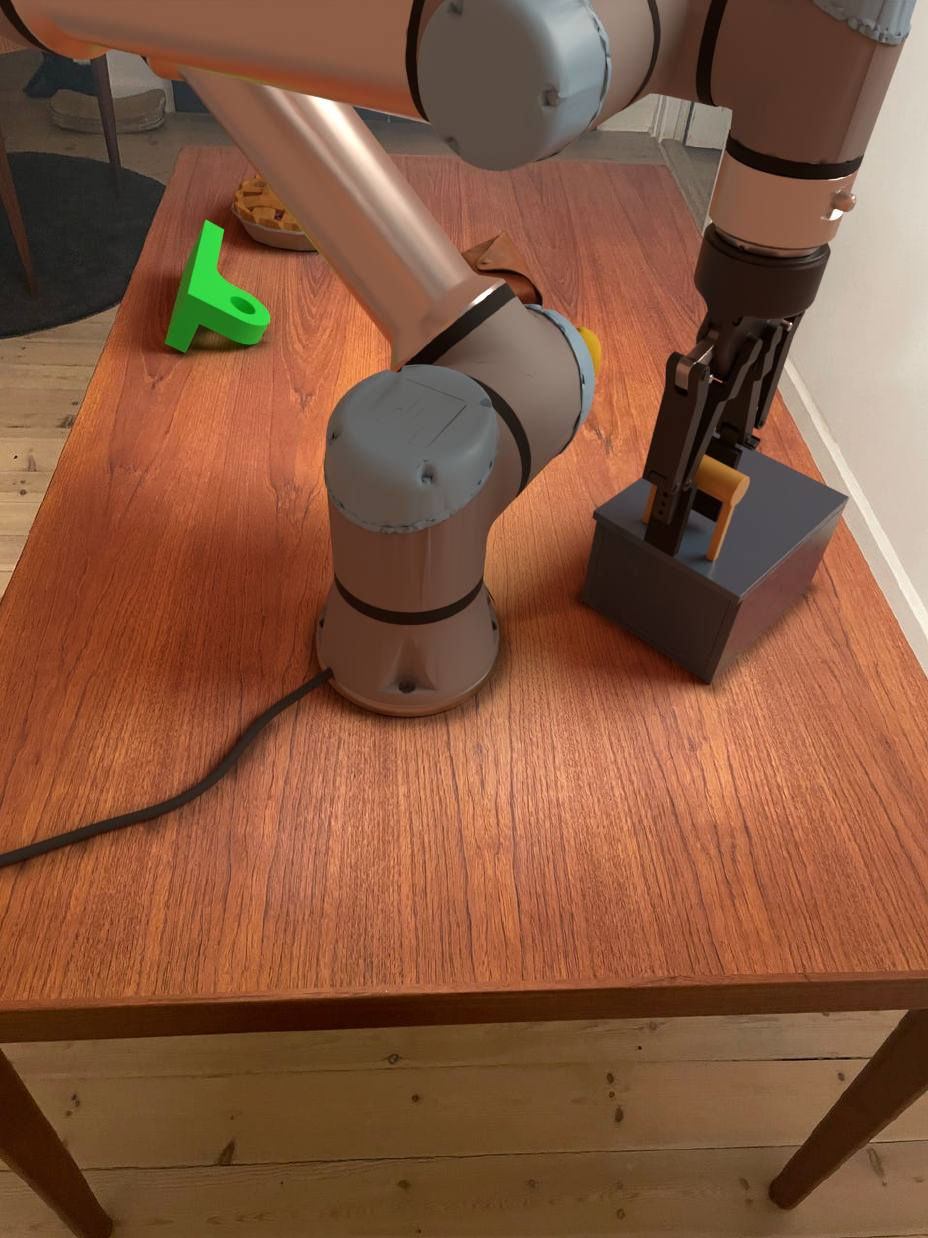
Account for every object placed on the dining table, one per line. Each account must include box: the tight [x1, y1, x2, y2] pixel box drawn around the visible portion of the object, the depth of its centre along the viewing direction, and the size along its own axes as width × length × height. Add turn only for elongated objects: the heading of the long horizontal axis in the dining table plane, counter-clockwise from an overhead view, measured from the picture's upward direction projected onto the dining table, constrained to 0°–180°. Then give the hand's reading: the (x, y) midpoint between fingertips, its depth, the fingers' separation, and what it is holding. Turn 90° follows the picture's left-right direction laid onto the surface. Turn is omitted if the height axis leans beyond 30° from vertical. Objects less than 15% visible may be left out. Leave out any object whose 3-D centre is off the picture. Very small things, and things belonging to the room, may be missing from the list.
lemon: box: [574, 325, 603, 378], centre depth 103 cm, size 6×6×8 cm
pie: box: [230, 173, 317, 251], centre depth 132 cm, size 22×22×5 cm
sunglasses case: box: [460, 229, 544, 308], centre depth 123 cm, size 18×7×7 cm, turn 13°
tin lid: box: [591, 430, 850, 604], centre depth 72 cm, size 18×14×9 cm
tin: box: [580, 504, 847, 685], centre depth 79 cm, size 17×14×10 cm
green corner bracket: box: [164, 219, 271, 354], centre depth 113 cm, size 20×10×7 cm, turn 5°
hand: (682, 528), depth 71 cm, fingers open, 5 cm apart
